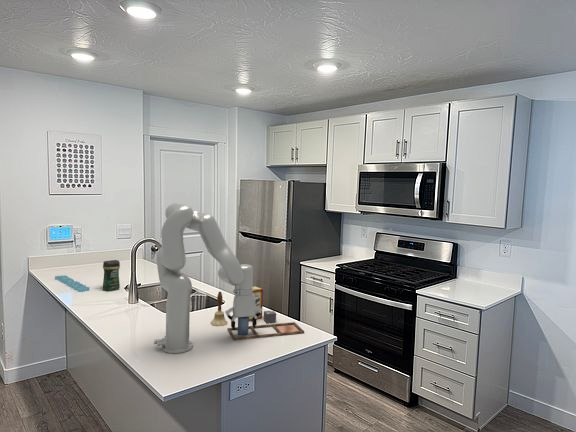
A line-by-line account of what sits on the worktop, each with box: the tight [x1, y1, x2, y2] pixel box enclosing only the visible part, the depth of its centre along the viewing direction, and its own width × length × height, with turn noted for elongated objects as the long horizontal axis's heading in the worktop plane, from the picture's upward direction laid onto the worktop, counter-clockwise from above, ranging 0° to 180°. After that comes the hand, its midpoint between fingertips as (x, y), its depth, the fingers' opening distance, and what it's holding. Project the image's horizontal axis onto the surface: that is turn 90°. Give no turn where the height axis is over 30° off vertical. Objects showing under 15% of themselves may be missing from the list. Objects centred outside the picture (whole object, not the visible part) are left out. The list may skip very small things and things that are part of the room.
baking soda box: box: [249, 285, 264, 322], centre depth 208 cm, size 10×6×16 cm
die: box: [263, 309, 277, 325], centre depth 204 cm, size 5×5×5 cm
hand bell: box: [210, 291, 228, 327], centre depth 199 cm, size 8×8×16 cm
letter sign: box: [54, 274, 90, 293], centre depth 262 cm, size 45×6×2 cm, turn 47°
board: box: [227, 321, 305, 341], centre depth 190 cm, size 34×13×1 cm, turn 110°
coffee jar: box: [102, 259, 121, 292], centre depth 252 cm, size 10×8×19 cm
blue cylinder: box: [237, 317, 250, 337], centre depth 186 cm, size 5×5×8 cm
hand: (243, 327), depth 186 cm, fingers open, 9 cm apart
